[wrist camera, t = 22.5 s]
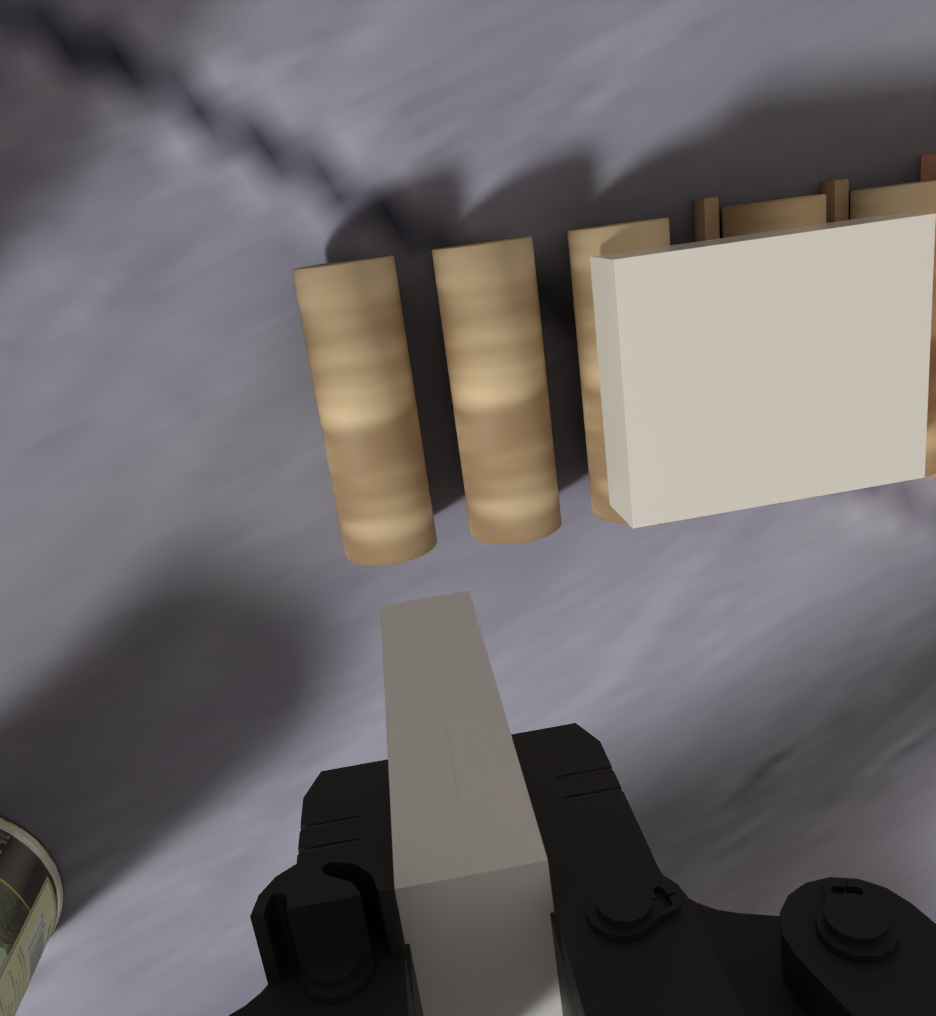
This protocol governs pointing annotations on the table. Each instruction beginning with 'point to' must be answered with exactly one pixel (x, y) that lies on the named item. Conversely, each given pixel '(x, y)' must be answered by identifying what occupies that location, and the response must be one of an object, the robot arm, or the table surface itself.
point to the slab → (764, 366)
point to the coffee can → (24, 910)
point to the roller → (773, 215)
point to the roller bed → (488, 378)
